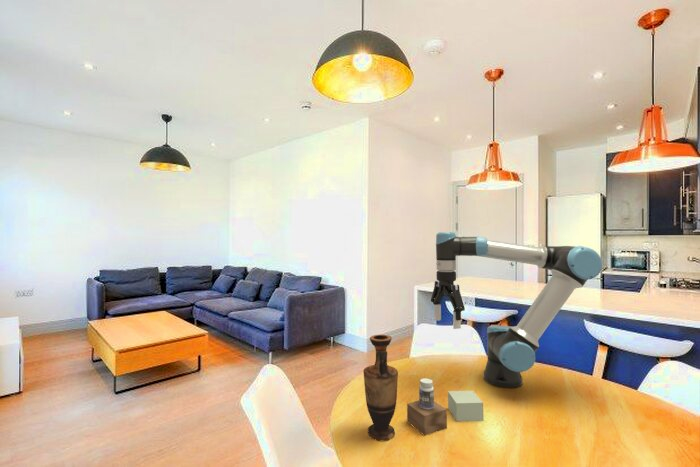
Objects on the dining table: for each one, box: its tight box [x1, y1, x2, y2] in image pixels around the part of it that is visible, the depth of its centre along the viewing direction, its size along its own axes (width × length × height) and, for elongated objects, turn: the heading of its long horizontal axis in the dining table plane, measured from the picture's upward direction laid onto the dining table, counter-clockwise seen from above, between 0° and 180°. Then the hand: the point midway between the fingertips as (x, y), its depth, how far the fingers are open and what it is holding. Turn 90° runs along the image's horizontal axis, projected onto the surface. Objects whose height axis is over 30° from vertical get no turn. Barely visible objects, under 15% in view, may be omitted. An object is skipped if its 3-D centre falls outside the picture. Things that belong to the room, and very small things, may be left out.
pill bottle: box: [418, 377, 435, 410], centre depth 112 cm, size 5×5×8 cm
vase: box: [363, 334, 399, 441], centre depth 107 cm, size 11×11×30 cm
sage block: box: [447, 390, 484, 422], centre depth 118 cm, size 9×9×6 cm
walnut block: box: [406, 400, 448, 436], centre depth 112 cm, size 9×9×6 cm
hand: (446, 324), depth 136 cm, fingers open, 13 cm apart
